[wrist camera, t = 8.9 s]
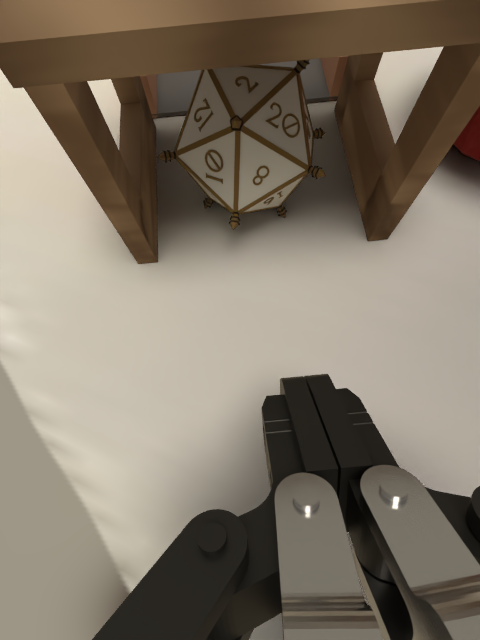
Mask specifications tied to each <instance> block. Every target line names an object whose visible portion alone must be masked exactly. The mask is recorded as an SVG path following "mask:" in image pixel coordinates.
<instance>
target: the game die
mask: <svg viewBox="0 0 480 640" xmlns="http://www.w3.org/2000/svg"><path fill="white" fill-rule="evenodd" d="M308 64H310V63H309V60H299V61H297V64H296V66H295V67H294V68H292V67H280V66H268V65H248V66H237V67H227V68H217V69H206V70H201V73H200V76H199V79H198V82H197V85H196V88H195V91H194V94H193V97H192V100H191V103H190V106H189V108H188V111H187V114H186V117H185V120H184V123H183V126H182V129H181V132H180V135H179V138H178V141H177V144H176V147H175V150H174V151H173V152H171V151H169V150H167V151H163V152H162V153H161V154H160V155H159V156H158V157H157V158H159V159H161V160H163V161H165V162H166V163H167V161H170V162H171V160H173V159H176V160H177V161H178V162H179V163H180V164H181V165H182V167H183V168H184V169H185V170H186V171H187V172H188V174H189V175H190V176H191V177H192V178H193V179H194V181H195V182H196V183H197V184H198V185H199V186H200V188H201V189H202V190H203V191H204V192H205V193H206V195H207V196H208V198H206V200H205V201H203V202H204V207H205V208H207V207H211V205H212V203H213V201H214V202H216V203H217V204H219V205H220V206H222V207H223V208H225V209H226V210H228V211H229V212H231V213H232V214H233V216H231V218H230V220H231V221H230V222H229V224H231V227H232V229H233V230H234V229H235V228H236V227H237V226H238V225H240V223H239V221H240V219H239V215H240V214H245V213H251V212H256V211H261V210H266V209H272V208H277V213H279V216H282V217H284V218H285V215H286V212H287V211H286V210H285V207H283V206H282V204H283V202H284V201H285V200H286V199H287V198H288V197H289V195H290V194H291V193H292V192H293V191H294V190H295V188H296V187H297V186H298V185H299V184H300V183H301V181H302V180H303V179H304V178H305V177H306V175H307V174H308V173H310V174H311V175H312V177H316V179H318V178H320V177H323V176H326V175H325V173H324V171H323V170H322V167H320V168H318V166H314V167H313V166H312V154H313V138H316V139H318V138H322V136H323V135H324V134H325V133H326V132H324V131H323V130H322V129H321V128H319V129H317V128H316V129H315V130H314V131H313V128H312V124H311V120H310V115H309V111H308V107H307V102H306V98H305V94H304V89H303V85H302V81H301V76H300V72H301V71H302V70H303V69H306V66H307V65H308Z"/></svg>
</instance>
